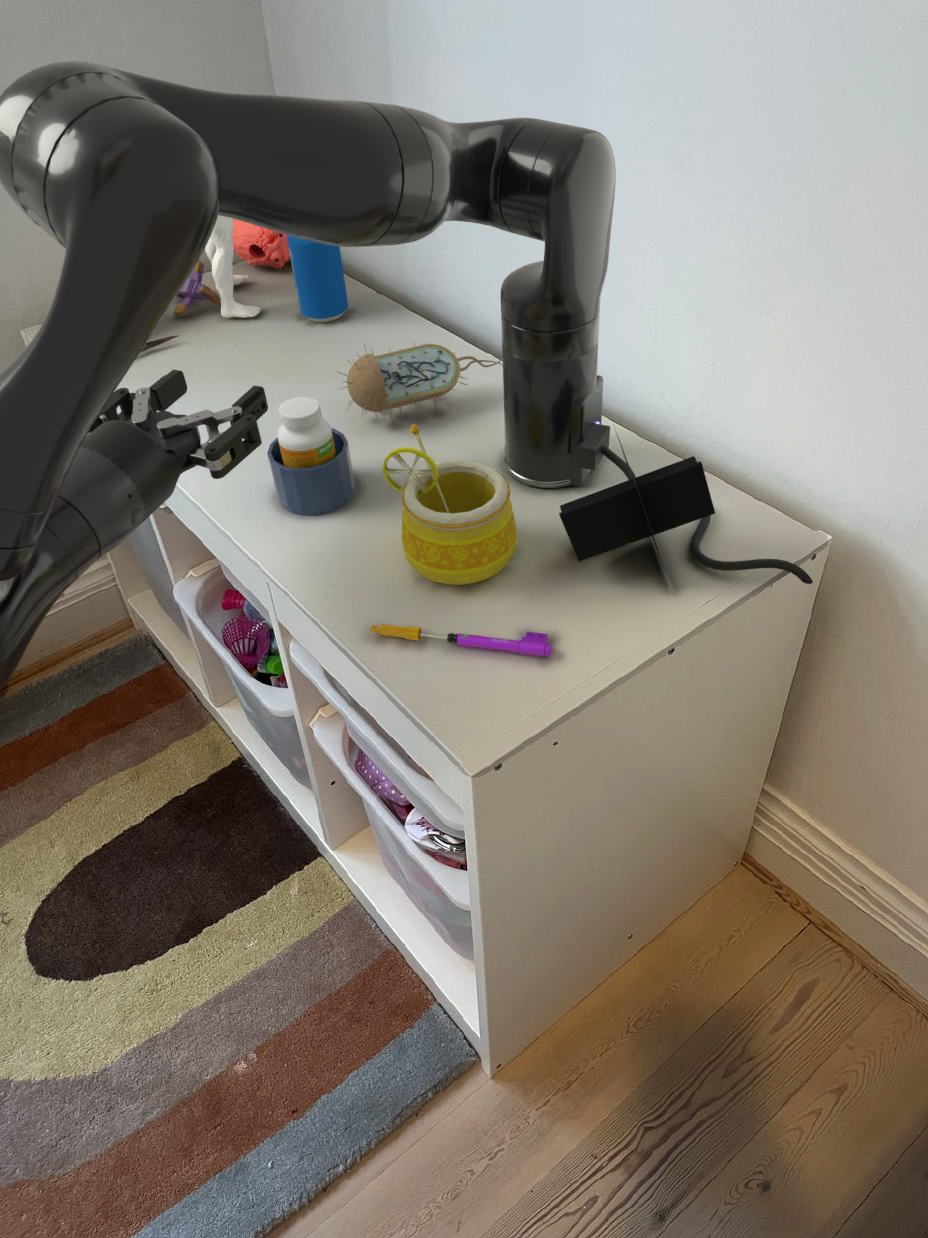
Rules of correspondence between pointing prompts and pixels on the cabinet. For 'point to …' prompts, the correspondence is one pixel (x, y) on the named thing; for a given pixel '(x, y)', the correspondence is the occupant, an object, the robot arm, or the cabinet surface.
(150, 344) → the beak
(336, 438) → the canister
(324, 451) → the supplement bottle
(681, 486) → the extrusion
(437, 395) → the bacterium
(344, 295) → the beverage can
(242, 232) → the heart organ
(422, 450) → the yellow cocktail cup
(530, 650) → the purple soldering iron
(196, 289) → the toy figure
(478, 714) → the cabinet surface
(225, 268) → the male figure
